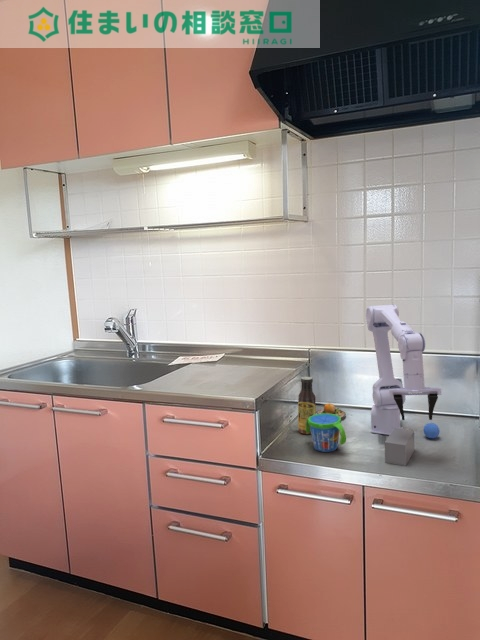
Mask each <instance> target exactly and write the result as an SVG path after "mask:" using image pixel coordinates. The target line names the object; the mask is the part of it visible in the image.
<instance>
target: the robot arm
mask: <svg viewBox="0 0 480 640" xmlns="http://www.w3.org/2000/svg"><path fill="white" fill-rule="evenodd" d="M399 311H400V310H399V308H398V306H397V305H396V304H395V303H392V304H383V305H368V306H367V308H366V311H365V319H366V325H367V330H368V331H369V332H371V333H372V335H373V341H374V349H375V357H376V362H377V363H376V364H377V370H378V377H379V378H378V380H376V381H375V382H374V383H373V384H372V402H373V403H374V404H373V405H372V406H371V411H370V425H371V426H370V433H373V434H379V435H386V436H387V435H388V436H389V435H390V434H391V433H392V431H393V430H394V428H399V429H404V427H403V426H401V420H402V421H405V420H406V418H405V412H404V404H405V402H406V396H427V403H428V420H430V421H432V420H433V414H434V409H435V406H436V403H437V402H438V399H439V396H442V388H441V387H440V386H439V387H429V386H428V387H425V372H424V359H423V352H424V351H425V350H426V340H425V339H426V338H425V336H424V335H423V333H422V332H415V331H414V330H413V328H412V327H411V326H410V325H409V323H407V322H406V321H405V320H404V321H403V320H401V318H400V317H399V315H400V314H399ZM389 331H390V333H391V335H392V336H393V338H394V339H395V340H396V342H397V348H398V351H399V354H400V359H401V360H402V370H403V371H402V372H403V382H402V381H400V380H398V378H395V375H394V368H393V362H392V361H393V360H392V355H391V348H390V342H389V336H388V335H389V334H388V333H389ZM403 385H404V386H403Z"/></svg>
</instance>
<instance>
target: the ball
mask: <svg viewBox="0 0 480 640" xmlns="http://www.w3.org/2000/svg"><path fill="white" fill-rule="evenodd" d="M423 435H424V436H425V437H427V438H428V439H431V440H432V439H436V438H438V437H439V436H440V428H439V426H438V424H436V423H432V422H429V423H426V424H425V425H424V427H423Z"/></svg>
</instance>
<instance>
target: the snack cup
mask: <svg viewBox="0 0 480 640" xmlns="http://www.w3.org/2000/svg"><path fill="white" fill-rule="evenodd" d="M305 430H306V433H310V432H311V434H310V435H311V439H312V443H313V447H314V450H316V451H318V452H322V453H328V452H330V453H331V452H334V451H336V449H337V448H338V446H339V445H338V444H340V445H341V446H342V445H344V444H346V442H347V435H346V432H345V428H344V426H343V424H342V421H341V418H340V417H339V416H338V415H335V414H328V413H322V414H315V415H312V416H310V417H309V418H308V419H307V421H306V428H305ZM339 436H340V440H339Z"/></svg>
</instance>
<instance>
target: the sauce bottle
mask: <svg viewBox="0 0 480 640" xmlns="http://www.w3.org/2000/svg"><path fill="white" fill-rule="evenodd" d="M313 381H314V380H313V377H312V376H301V378H300V382H301V388H300V389H301V390H300V391H299V392H300V393H299V394H298V400H297V401H298V402H297V428H298V433H300V434H303V435H312V434H311V432H310V433H306V430H305V428H306V421H307V419H308V418H309V417H310V416H312V415H315V414H316V412H317V411H316V410H317V409H316V408H317V407H316V406H317V404H316V395H315V393H314V392H313Z"/></svg>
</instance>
